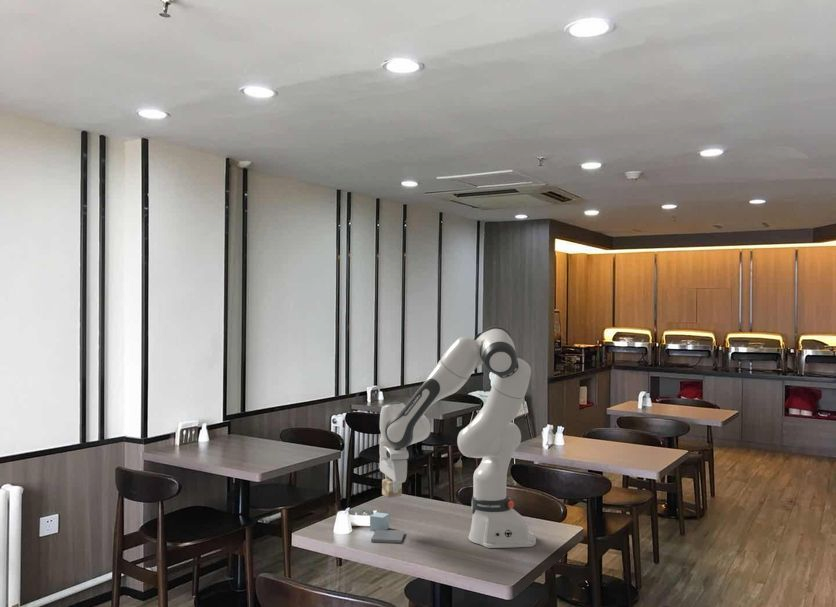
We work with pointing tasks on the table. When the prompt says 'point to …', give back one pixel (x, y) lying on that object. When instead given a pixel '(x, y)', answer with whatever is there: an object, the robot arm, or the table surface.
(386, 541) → the slate coaster
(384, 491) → the birch cube
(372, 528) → the bluegrey cube
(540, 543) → the table surface
